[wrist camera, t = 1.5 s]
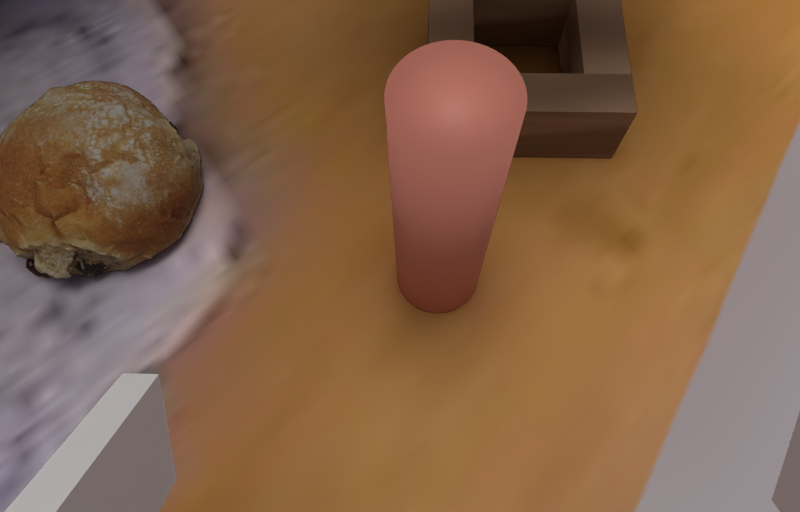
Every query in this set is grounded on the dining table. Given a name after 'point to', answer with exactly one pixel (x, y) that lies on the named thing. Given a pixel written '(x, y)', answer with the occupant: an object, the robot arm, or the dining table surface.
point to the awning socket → (579, 65)
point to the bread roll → (94, 181)
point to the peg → (449, 164)
